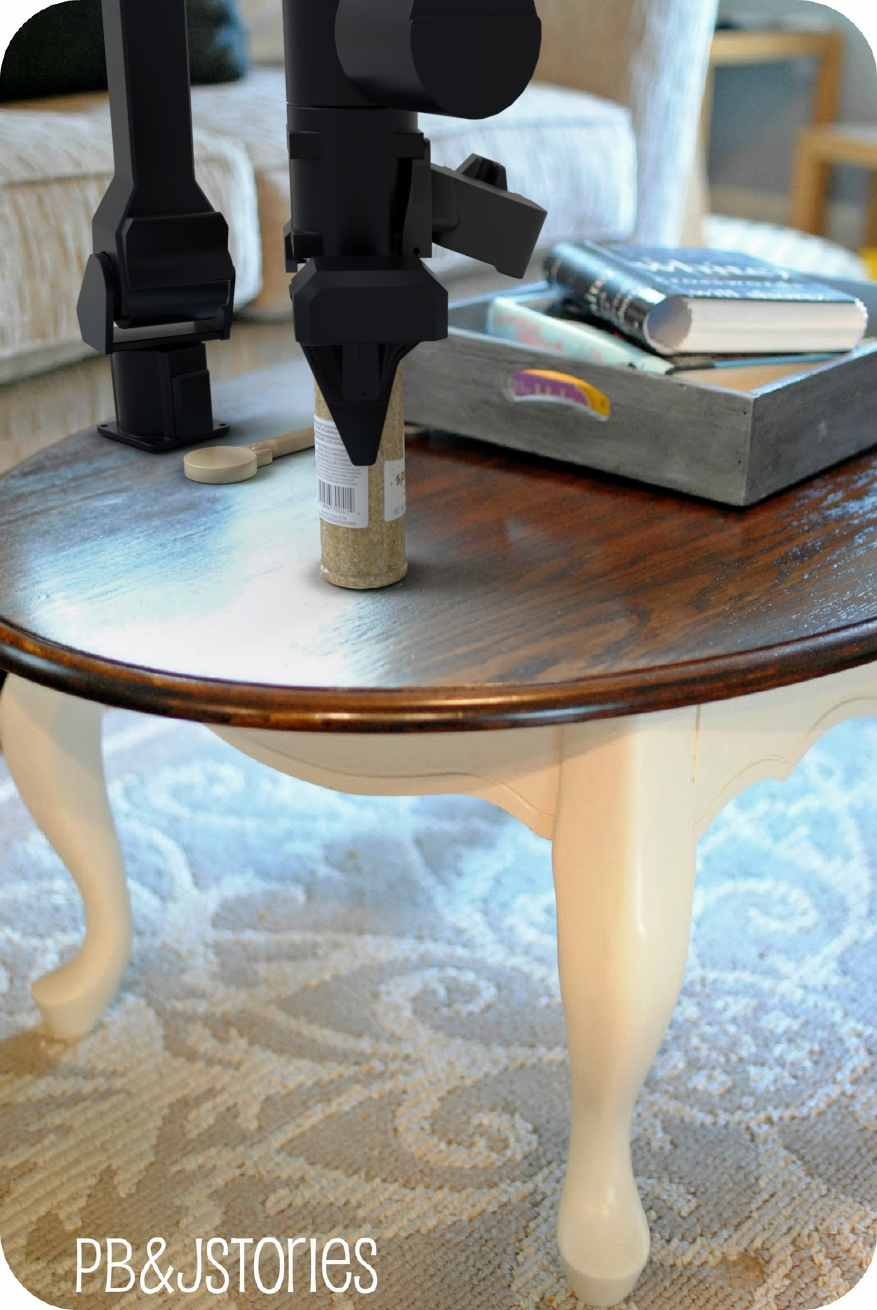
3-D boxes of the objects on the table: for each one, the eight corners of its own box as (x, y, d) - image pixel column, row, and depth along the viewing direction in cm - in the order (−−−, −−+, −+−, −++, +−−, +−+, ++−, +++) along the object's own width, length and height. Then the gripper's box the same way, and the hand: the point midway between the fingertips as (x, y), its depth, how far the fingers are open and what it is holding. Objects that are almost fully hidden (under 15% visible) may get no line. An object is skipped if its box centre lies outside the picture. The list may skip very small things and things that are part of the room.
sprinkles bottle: (425, 579, 68) (425, 308, 62) (346, 599, 66) (338, 319, 60) (377, 551, 72) (373, 292, 66) (301, 569, 69) (289, 302, 64)
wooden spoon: (215, 489, 81) (214, 469, 80) (170, 472, 83) (168, 453, 83) (391, 435, 91) (390, 418, 90) (345, 422, 93) (344, 405, 93)
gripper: (581, 120, 52) (563, 508, 59) (499, 89, 68) (493, 394, 75) (286, 122, 51) (303, 519, 57) (276, 90, 67) (290, 400, 74)
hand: (360, 450), depth 66 cm, fingers closed on sprinkles bottle, 4 cm apart
